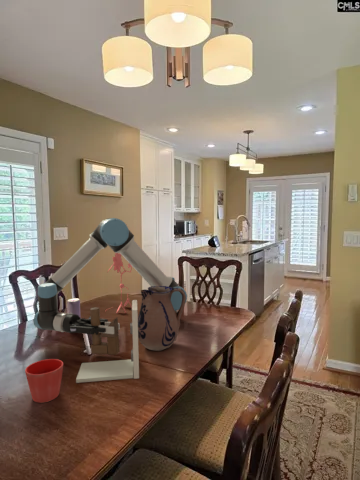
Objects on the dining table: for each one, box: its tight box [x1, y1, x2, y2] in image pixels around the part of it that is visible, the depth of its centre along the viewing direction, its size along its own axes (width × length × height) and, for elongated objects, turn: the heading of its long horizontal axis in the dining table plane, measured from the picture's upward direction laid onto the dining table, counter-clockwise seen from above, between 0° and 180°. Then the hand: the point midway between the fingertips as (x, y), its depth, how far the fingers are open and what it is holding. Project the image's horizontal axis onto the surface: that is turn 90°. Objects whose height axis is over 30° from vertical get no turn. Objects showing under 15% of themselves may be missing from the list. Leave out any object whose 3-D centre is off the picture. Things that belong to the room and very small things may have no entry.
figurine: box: [105, 252, 133, 314], centre depth 188 cm, size 15×26×35 cm, turn 164°
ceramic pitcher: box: [138, 286, 187, 352], centre depth 136 cm, size 18×21×25 cm
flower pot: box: [24, 358, 64, 404], centre depth 100 cm, size 11×11×10 cm
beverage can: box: [66, 297, 82, 318], centre depth 158 cm, size 6×6×15 cm
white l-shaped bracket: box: [75, 299, 140, 384], centre depth 114 cm, size 21×13×24 cm, turn 98°
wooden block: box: [89, 306, 120, 356], centre depth 127 cm, size 4×11×18 cm, turn 78°
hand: (116, 328), depth 125 cm, fingers closed on wooden block, 3 cm apart
